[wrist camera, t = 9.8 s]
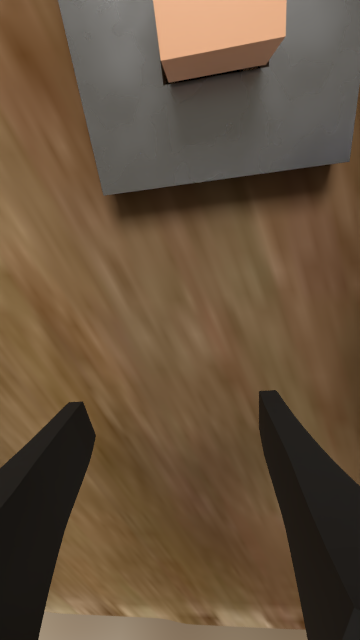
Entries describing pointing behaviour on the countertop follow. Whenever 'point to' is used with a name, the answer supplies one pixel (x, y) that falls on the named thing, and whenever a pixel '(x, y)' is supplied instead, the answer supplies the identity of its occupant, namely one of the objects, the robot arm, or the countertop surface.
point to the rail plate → (213, 98)
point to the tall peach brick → (217, 35)
